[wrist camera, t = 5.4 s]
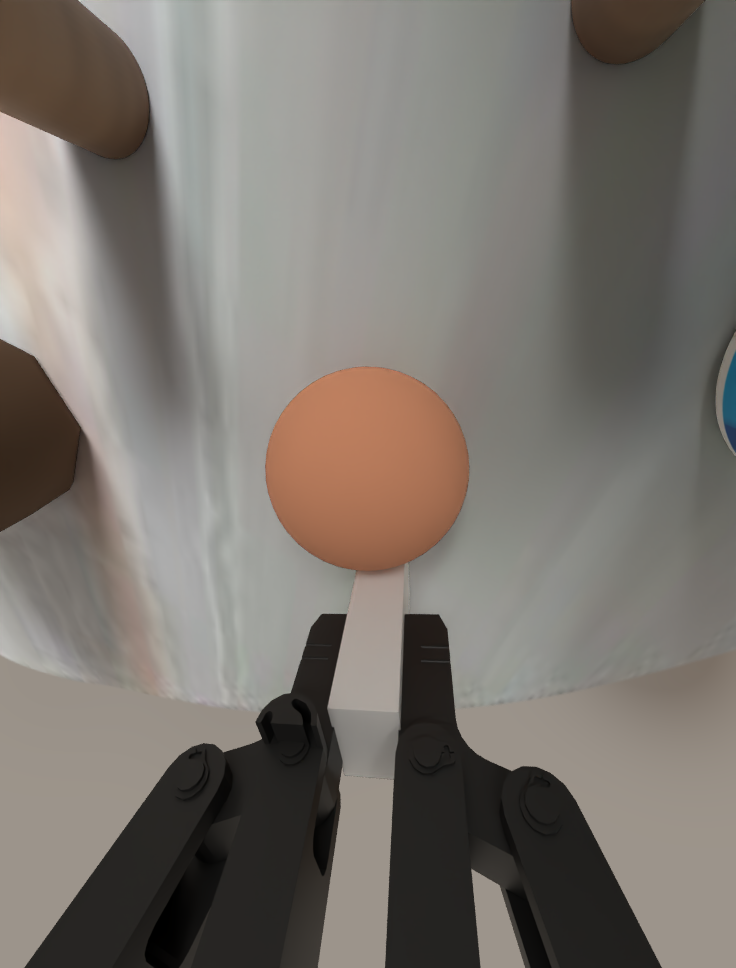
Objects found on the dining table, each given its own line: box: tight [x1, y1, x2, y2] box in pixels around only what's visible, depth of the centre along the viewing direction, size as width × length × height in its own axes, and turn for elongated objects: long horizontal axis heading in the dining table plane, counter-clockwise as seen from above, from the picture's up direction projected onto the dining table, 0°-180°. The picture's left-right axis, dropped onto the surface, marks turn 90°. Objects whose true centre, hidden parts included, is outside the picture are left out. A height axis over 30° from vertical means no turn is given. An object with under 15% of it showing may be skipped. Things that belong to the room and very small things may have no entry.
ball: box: [265, 367, 469, 571], centre depth 10 cm, size 6×6×6 cm
